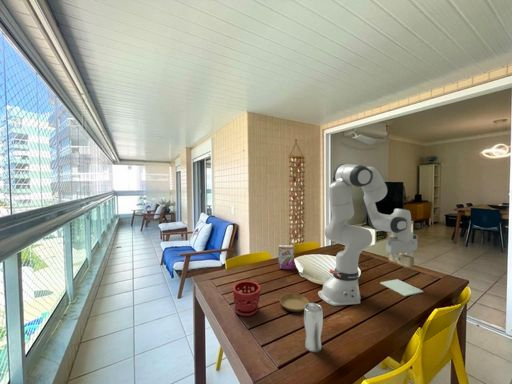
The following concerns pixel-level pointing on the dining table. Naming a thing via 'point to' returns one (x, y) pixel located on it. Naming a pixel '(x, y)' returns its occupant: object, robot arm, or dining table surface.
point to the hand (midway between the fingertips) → (401, 259)
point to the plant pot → (246, 298)
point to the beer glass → (313, 326)
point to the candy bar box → (286, 257)
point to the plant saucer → (293, 302)
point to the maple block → (402, 259)
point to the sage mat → (401, 287)
